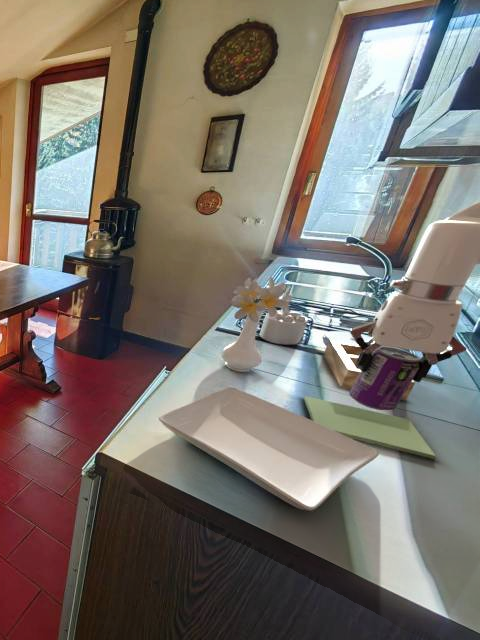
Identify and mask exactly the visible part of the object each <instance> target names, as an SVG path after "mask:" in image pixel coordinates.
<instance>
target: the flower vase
mask: <svg viewBox="0 0 480 640" xmlns="http://www.w3.org/2000/svg"><path fill="white" fill-rule="evenodd" d="M257 280H258V278H257V277H256V278H254V279H253V280H252V279H251V278H250V277H247V279H245V281H244V284H243V286H242V285H238V286H236V288H235V289H234V290H233V291H232V294H235V295H234V296H233V298H232V299H230V302H229V303H230V305H231V306H232V307H234V308H237V309H238V310H236V312H235V313H234V319H236V320H241V319H243V318H245V317H246V319H245V321H244V324H243V327H242V330H241V332H240V334H239V335H238V337H237V338H236V339H235V341H234V342H232V343H230V344H227V345H226V346H224V347H223V349H222V351H221V354H220V356H221V358H222V360H223V361H224V365H225V367H226V368H228V369H230V370H232V371H235V372H240V373H249V372H251V371H252V369H255V368H256V367H258V366H260V365H261V364H262V359H263V358H262V354H261V352H260V351H259V349H258V348H257V344H256V335H257V331H258V327H259V324H260V320H261V318H262V316H263V314H264V312H265V311H266V310H267V313H269V315H270V316H271V317H275V316H276V313H277V311H278V310H277V308H280V310H282V311H283V313H284V315H285V311H286V313H287V314H288V315H289V313H290V311H291V310H290V303H291V302H292V301H293V299H294V295H293V294H290V293H291V290H292V285H290V286H288V288H287V289H286V287H287V285H286V283H285V282H278V283H277V284H276V281H275V280H274V278H273V276H269V277H268V285H266V286H265V287H262V286H261V285H259V284H258V282H257ZM284 290H285V292H284Z"/></svg>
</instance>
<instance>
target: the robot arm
mask: <svg viewBox="0 0 480 640" xmlns="http://www.w3.org/2000/svg"><path fill="white" fill-rule="evenodd" d="M477 265H480V200H479V201H476V202H474V203H472V204H471V205H468V206H467V207H465V208H463V209H461V210H459V211H457V212H455V213H453V214H452V215H450V216H449V217H446V219H444V220H437V221H434V222H432V223H430V224H429V225H428V227H427V228H426V229H425V231H424V233H423V235H422V237H421V239H420V242H419V244H418V246H417V248H416V250H415V252H414V255H413V257H412V259H411V261H410V264H409V265H408V268H407V270H406V273H405V274H404V276H402V278H401V279H397V280H395V279H392V280H391V281H390V283H389V287H390V288H394V289H396V290H397V291H392V292H391V293H390V294H389V296H388V297H387V298H386V299H385V301H384V302H383V304H381V307H380V308H379V309H378V311H377V313H376V314H375V317H374V318H373V320H372V321H369V322H367V323H363V324H360V325H357V326H353V327H351V328H349V330H348V332H349V334H350V336H351V337H352V338H353V341H355V344H358V345H359V346H360V348H361V349H362V350H361V352H360V354H359V357H358V359H357V361H356V365H358V367H359V369H360V370H361V371H362V372H365V371H367V369H368V367H369V365H370V363H371V361H372V359H373V356H374V355H373V354H372V352H373V351H374V350H376V349H377V348H379V347H380V346H385V347H392V348H397V349H401V350H405V351H414V352H420V353H421V357H420V358H421V359H420V361H418V362H419V369H418V371H417V373H416V374H415V376H414V378H413V379H412V380H413V381H414V382H415V383H420V382H421V381H422V380H423V378H424V379H425V378H426V377H427V376H428V374H429V372H430V370H431V368H432V367H433V366H436V365H437V364H438V363H439V362H440V363H441V362H442V361H445V360H448V359H451V358H452V357H453V356H457V355H459V354H461V353H464V352H466V351H467V347H466V346H465V345H464V344H462V343H461V342H460V340H458V339H457V338H456V337H455V336H454V334H455V331H456V329H457V326H458V323H459V320H460V317H461V313H462V309H463V302H462V301H459V300H458V299H459V297H460V295H461V294H462V291H463V290H464V288H465V286H466V284H467V282H468V280H469V278H470V276H471V275H472V272H473V271H474V269H475V267H476V266H477ZM366 332H367V335H368V336H369V337H370V338H368V339H367V340H365V339H364V337H363V336H362V335H363V334H364V333H366Z"/></svg>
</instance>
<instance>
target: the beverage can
mask: <svg viewBox="0 0 480 640" xmlns="http://www.w3.org/2000/svg"><path fill="white" fill-rule="evenodd" d="M372 354H373V355H374V356H373V359H372V361H371V363H370V365H369V367H368V369H367V371H365V372H362V371H361V373H360V374H359V376H358V378H357V380H356V382H355V384H354V386H353V388H352V389H350V391H349V396H350V397H351V398H352V399H353V400H355V401H356V402H357V403H358V404H359V405H361V406H364V407H367V408H368V409H373V410H376V411H377V410H378V411H393V410H395V409H396V408H397V407H398V405H399V403H400V401H401V398H402V396H403V395H404V393H405V391H406V389H407V388H408V386H409V384H410V383H411V381H412V380H413V378H414V376H415V374H416V373H417V371H418V369H419V362H418V361H420V359H421V358H422V357H420V356H419V355H417V354H415V353H413V352H411V351H409V350H406V349H400V348H394V347H388V346H383V345H382V346H380V347H379V348H377V350H376V351H374V352H373V353H372Z"/></svg>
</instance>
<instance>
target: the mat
mask: <svg viewBox="0 0 480 640" xmlns="http://www.w3.org/2000/svg"><path fill="white" fill-rule="evenodd" d="M303 400H304V402H305V406H306V409H307V412H308V415H309V418H310V420H312V421H314V422H316V423H318V424H321V425H323V426H325V427H327V428H329V429H332V430H334V431H336V432H338V433H340V434H342V435H344V436H347V437H349V438H351V439H353V440H356V441H361V442H366V443H369V444H372V445H377V446H381V447H385V448H387V449H393V450H396V451H401V452H403V453H409V454H411V455H412V454H413V455H415V456H416V455H417V456H420V457H424V458H428V459H433V460H435V459H436V457H437V455H436V454H435V453H434V451H433V450H432V448H431V447H430V446H429V444H428V443H427V442H426V440H425V439H424V437H422V435H421V434H420V433H419V431H418V430H417V429H416V428H415V426H414V424H413V423H412V422H411V420H410V419H409V418H405V417H401V416H397V415H391V414H388V413H382V412H379V411H374V410H370V409H365V408H360V407H357V406H351V405H347V404H342V403H339V402H334V401H329V400H326V399H320V398H315V397H312V396H306V395H305V396H304V397H303Z"/></svg>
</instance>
